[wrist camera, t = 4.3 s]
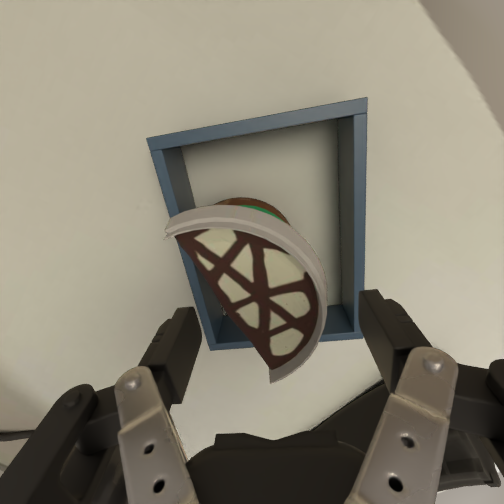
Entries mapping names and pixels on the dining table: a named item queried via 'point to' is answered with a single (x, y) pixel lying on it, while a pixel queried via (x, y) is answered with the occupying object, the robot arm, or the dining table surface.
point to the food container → (259, 276)
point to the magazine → (456, 450)
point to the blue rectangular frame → (350, 200)
